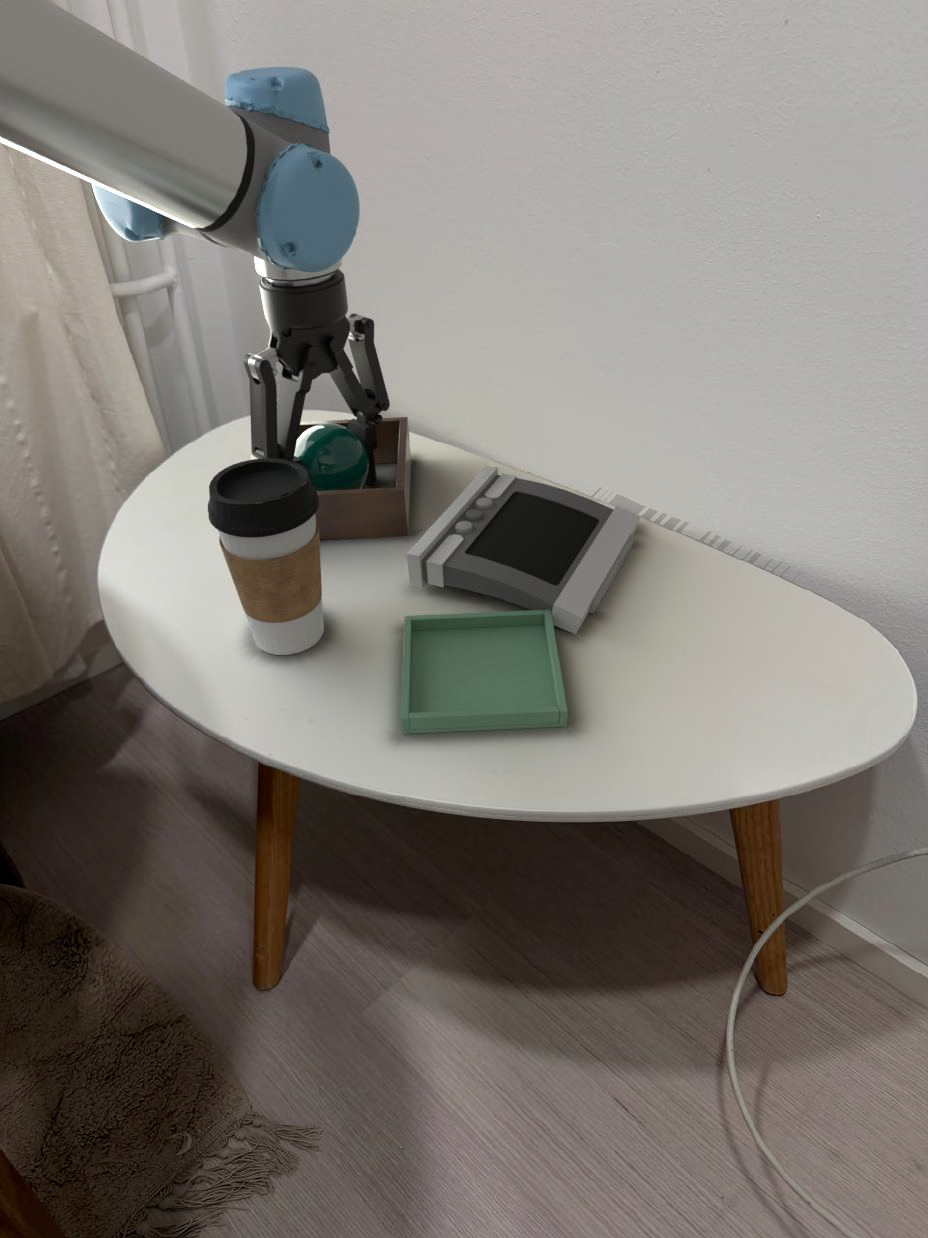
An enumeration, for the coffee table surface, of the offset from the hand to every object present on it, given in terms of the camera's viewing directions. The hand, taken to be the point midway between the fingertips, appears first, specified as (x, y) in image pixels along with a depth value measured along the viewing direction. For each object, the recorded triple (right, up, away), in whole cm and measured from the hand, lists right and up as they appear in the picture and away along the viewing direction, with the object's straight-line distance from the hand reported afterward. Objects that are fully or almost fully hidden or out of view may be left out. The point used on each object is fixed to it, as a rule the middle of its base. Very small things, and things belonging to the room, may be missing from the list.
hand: (333, 496), depth 95 cm
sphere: (0, 0, 0) cm, 0 cm away
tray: (+15, -17, -22) cm, 32 cm away
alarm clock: (+20, -7, -10) cm, 23 cm away
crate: (0, 0, 0) cm, 0 cm away
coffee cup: (-1, -14, -17) cm, 22 cm away
